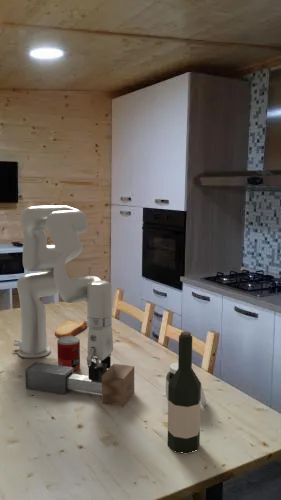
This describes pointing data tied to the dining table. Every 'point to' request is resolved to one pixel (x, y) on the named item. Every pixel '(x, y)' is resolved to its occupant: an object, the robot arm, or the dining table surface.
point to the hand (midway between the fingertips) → (99, 373)
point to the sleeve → (47, 377)
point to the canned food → (69, 352)
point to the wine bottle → (184, 401)
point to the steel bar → (86, 381)
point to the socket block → (118, 385)
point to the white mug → (170, 375)
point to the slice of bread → (70, 328)
